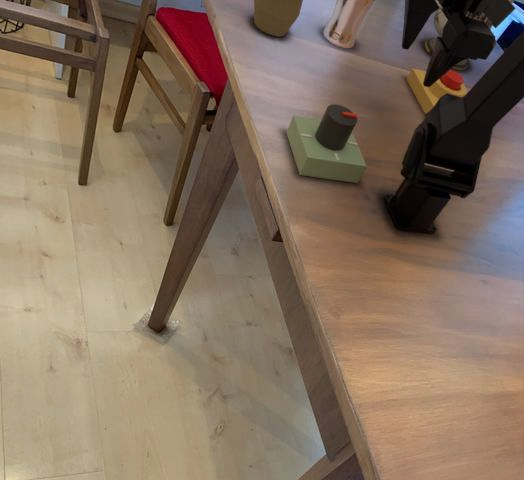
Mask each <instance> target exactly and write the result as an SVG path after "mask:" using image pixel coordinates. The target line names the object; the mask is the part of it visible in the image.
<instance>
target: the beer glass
mask: <svg viewBox="0 0 524 480" xmlns="http://www.w3.org/2000/svg"><path fill="white" fill-rule="evenodd" d="M375 2H376V0H336V2H335V7H334V9H333V13H332V15H331V17H330V19H329V20H328V22H327V24H326V26H325V28H324V30H323V33H322V34H323V36H324V38H325V39H326V40H327V42H330V43H331V44H333V45H334V46H336V47H338V48H343V49H351V48H353V47H354V45H355V43H356V38H357V36H358V32H359V29H360V27H361V24H362V23H363V21H364V19H365V18H366V16H367V14H368V13H369V11H370V10H371V8H372V6H373V5H374V4H375Z"/></svg>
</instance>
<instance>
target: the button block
mask: <svg viewBox="0 0 524 480" xmlns="http://www.w3.org/2000/svg"><path fill="white" fill-rule="evenodd" d="M426 71H427V70H426ZM426 71H425V70H422V69H417V68H412V69H410V72H409V74H408V76H407V78H406V81H407V84H408V85H409V87H410V88H411V90H412V92H413V94H414V96H415V98H416V100H417V102H418V103H419V105H420V107H421V109H422V111H423V113H424V115H425V114H426V113H427V112H429V111H430V110H431V109H432V108H433V107H434V106H435V104H436V103H437V101H438V100H439V98H440V97H442V96H443V95H445V94H446V93H448V94H451V95H455V96H458V97H464V96H465V95H466V94H467V93H468V89H467V88H466V86H465V84H464V83H463V84H462V85H461V87H460V88H459V90H458V91H455V90H451V89H449V88H447V87H446V86H445V85H444V84H442V83H441V81H440V80H441V78H442V77H443V76H442V77H441V78H440V79H438V80H437V81H436V82H435V83H434V84H433V85H432V86H430V87H426V86H424V85H423V82H424V78H425V74H426Z"/></svg>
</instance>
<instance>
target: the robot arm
mask: <svg viewBox="0 0 524 480" xmlns="http://www.w3.org/2000/svg"><path fill="white" fill-rule="evenodd" d="M439 8H440V9H441V10H442V12H443V13H444V15H445V16H446V18H447V19H448V21H447V22H446V24H445V26H444V28H443V32H442V37H440V36H437V37H436V38H435V39H436V42H435V46H434V49H433V52H432V55H431V54H430V55H431V56H430V58H429V62H428V65H427V68H426V74H425V78H424V82H423V85H424V86H426V87H430V86H432V85H433V84H434V83H435V82H436V81H437V80H438V79H440V78H441V77H442V76H443V75H444V74H445V73H447V72H448V71H449V70H451V69H453V68H452V67H454V66H455V65H457V64H458V63H459V62H461V61H463V60H466V59H467V60H474V61H477V60H483V61H486V60H488V58H489V56H490V55H491V54H492V52H493V50H494V49H495V47H496V46H497V40H496V39H497V38H496V36H495V34H494V32H493V31H492V29H491V30H490V29H489V27H488V26H487V25H486V23H485V22H483V21H479V20H476V19H472V18H468V17H467V16H466V15H467V14H468V13H472V14H473V15H475V16H478V17H480V16H481V14H482V13H484V14H485V15H486V17H487V18H488V19H489V20H490V21H491V22H492V27H494V29H497V28H498V27H499V26H500V25H501V24H502V23H503V22H504V21H505V20H506V19H507V18H508V17H509V16H510V15H511V14H512V13H513V12H515V10H516V7H515V6H514V3H511V2H510V1H509V0H404V12H403V13H404V15H403V28H402V39H401V49H403V50H409V49H411V46H412V45H413V44H414V43H415V42H416V39H417V38H418V36H419V34H420V33H421V31H422V30H423V28H424V27H425V25H426V23H427V22H428V20H429V19H430V17H431V15H432V14H433V13H436V11H437V10H438V9H439ZM523 99H524V30H522V32H521V33H520V34H519V35H518V36H517V37H516V38H515V39H514V41H512V43H511V44H510V45H509V46H508V47H507V48H506V49H505V51H504V52H503V53H502V54H501V55H500V56H499V57H498V58H497V59H496V60H495V62H494V63H493V64H492V65H491V66H490V67H489V68H488V69H487V70H486V71H485V73H484V74H482V76H481V77H480V78H479V80H477V81H476V82H475V84H474V85H473V86H472V87H471V88H470V89H469V91H467V93H466V95H465V96H464V97H458V96H455V95H451V94H448V93H446V94H445V95H443V96H442V97H440V98H439V100H438V101H437V103H436V104H435V106H434V107H433V108H432V109H431V110H430V111H429V112H427V113H426V114H425V113H424V119H423V120H422V121H421V122H420V123H419V124H418V125H417V126H416V128H415V129H414V131H413V133H412V136H411V139H410V141H409V143H408V146H407V149H406V151H405V153H404V156H403V159H402V161H401V166H402V168H401V169H400V171H399V174H400V176H402V177H403V178H404V179H403V180H402V182H401V183H400V185H399V187H398V188H397V190H396V191H395V193H394V194H389V193H386V194H384V196H383V201H384V202H385V205H386V207H387V210H388V212H389V215H390V218H391V219H392V222H393V224H394V227H395V228H396V229H397V230H399V231H408V232H417V233H426V234H436V233H437V231H438V229H437V227H436V225H435V220H436V219H437V218H438V216H439V215H440V214H441V212H442V211H443V210H444V209H445V207H446V206H447V205H448V203H449V202H450V200H451V199H452V197H451V196H455V197H459V198H461V199H466V198H467V197H468V196H470V195H471V194H472V193H474V192H475V189H476V184H477V179H478V175H479V172H480V167H481V161H482V158H483V156H484V155H485V153H486V152H488V151H489V149H490V147H491V141H492V138H493V132H494V128H495V126H496V125H497V124H498V123H500V121H502V119H504V117H505V116H506V115H508V113H510V112H511V111H512V110H513V108H515V107H516V106H517V105H518V104H520V102H521V101H522V100H523Z"/></svg>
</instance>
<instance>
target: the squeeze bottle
mask: <svg viewBox="0 0 524 480" xmlns="http://www.w3.org/2000/svg"><path fill="white" fill-rule="evenodd" d="M303 1H304V0H253V22H254V24H255V27H257V29H259V30H260V31H261V32H263V33H265V34H266V35H270V36H273V37H283V36H285V35H286V34H287V33H288V31H289V30H290V29H291V27H292V26H293V25H294V24H295V22H296V21H297V19H298V18H299V17H300V14H301V10H302V6H303Z"/></svg>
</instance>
